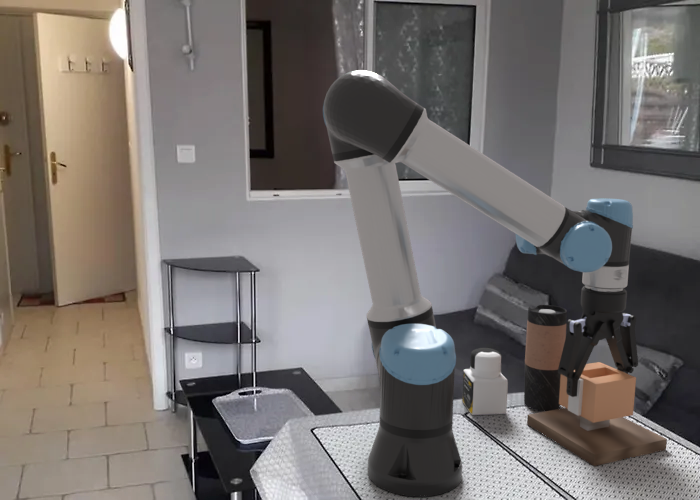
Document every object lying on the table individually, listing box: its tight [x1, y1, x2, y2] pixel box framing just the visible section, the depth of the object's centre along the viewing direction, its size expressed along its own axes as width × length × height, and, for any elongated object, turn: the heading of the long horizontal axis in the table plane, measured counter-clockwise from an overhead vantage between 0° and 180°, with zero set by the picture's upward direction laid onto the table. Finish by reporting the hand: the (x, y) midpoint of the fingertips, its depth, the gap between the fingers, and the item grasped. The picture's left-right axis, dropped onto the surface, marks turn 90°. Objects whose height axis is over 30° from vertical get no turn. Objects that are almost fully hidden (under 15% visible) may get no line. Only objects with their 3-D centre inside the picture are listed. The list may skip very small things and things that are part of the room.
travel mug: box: [523, 304, 568, 412], centre depth 141 cm, size 8×8×20 cm
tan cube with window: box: [559, 361, 637, 423], centre depth 127 cm, size 9×9×7 cm
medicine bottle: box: [461, 347, 509, 416], centre depth 140 cm, size 7×7×12 cm
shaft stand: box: [526, 407, 668, 467], centre depth 127 cm, size 16×18×10 cm
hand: (595, 408), depth 127 cm, fingers closed on tan cube with window, 9 cm apart
